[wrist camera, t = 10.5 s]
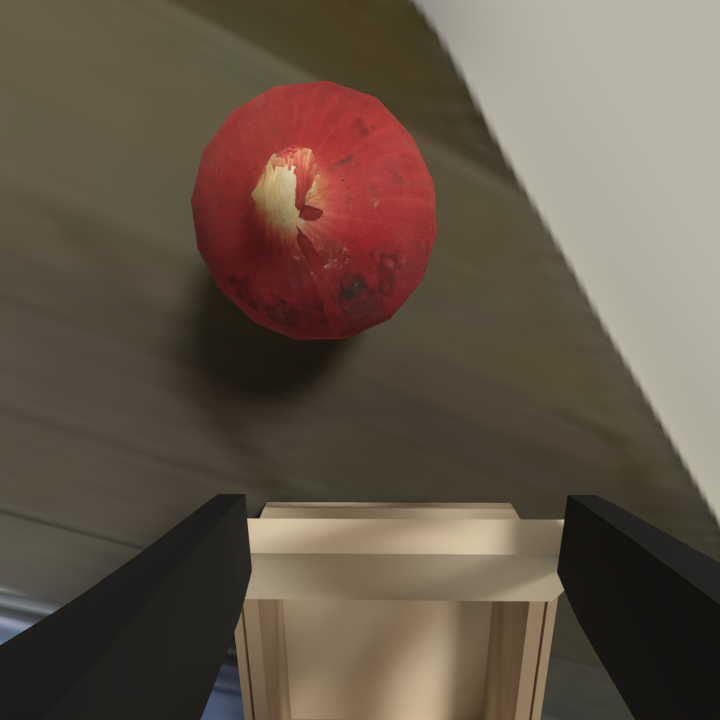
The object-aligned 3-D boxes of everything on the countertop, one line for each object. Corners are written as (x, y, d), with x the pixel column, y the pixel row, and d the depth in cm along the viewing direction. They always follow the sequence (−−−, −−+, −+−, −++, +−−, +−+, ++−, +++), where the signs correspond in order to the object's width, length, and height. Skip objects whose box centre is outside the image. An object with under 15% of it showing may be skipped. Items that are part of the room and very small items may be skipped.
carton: (275, 716, 19) (254, 815, 16) (256, 502, 16) (226, 567, 13) (496, 719, 19) (525, 820, 15) (520, 502, 16) (561, 569, 12)
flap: (207, 552, 9) (216, 518, 10) (242, 599, 11) (248, 569, 12) (603, 554, 9) (589, 519, 9) (551, 601, 11) (542, 571, 12)
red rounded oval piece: (442, 275, 14) (542, 295, 6) (298, 344, 14) (217, 444, 7) (371, 106, 12) (379, -149, 5) (216, 191, 13) (-1, 94, 5)
